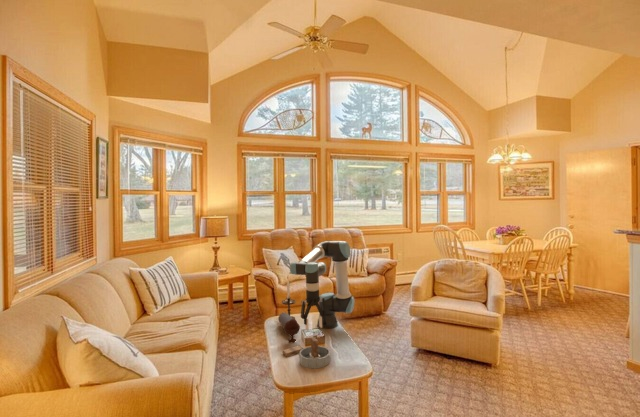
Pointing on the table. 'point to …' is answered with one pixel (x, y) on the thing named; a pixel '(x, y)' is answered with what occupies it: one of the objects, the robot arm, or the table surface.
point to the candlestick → (288, 300)
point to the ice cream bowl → (291, 329)
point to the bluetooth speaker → (284, 318)
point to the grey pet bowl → (312, 362)
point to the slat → (292, 351)
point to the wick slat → (314, 347)
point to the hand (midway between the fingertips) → (314, 328)
